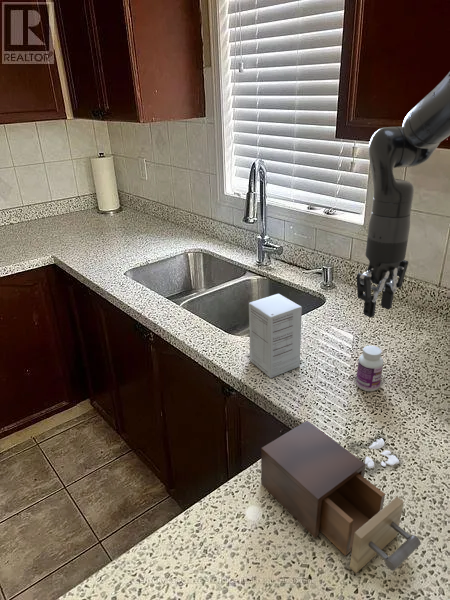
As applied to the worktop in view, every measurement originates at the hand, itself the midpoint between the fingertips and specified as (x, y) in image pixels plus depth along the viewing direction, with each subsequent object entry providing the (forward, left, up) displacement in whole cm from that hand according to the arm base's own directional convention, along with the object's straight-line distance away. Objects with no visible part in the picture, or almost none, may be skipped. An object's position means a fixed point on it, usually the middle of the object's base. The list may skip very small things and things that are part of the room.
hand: (377, 311), depth 95 cm
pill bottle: (0, 0, -20) cm, 20 cm away
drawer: (-24, +33, -18) cm, 45 cm away
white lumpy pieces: (-15, +17, -20) cm, 30 cm away
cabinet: (-14, +33, -19) cm, 41 cm away
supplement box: (+20, +11, -20) cm, 30 cm away
